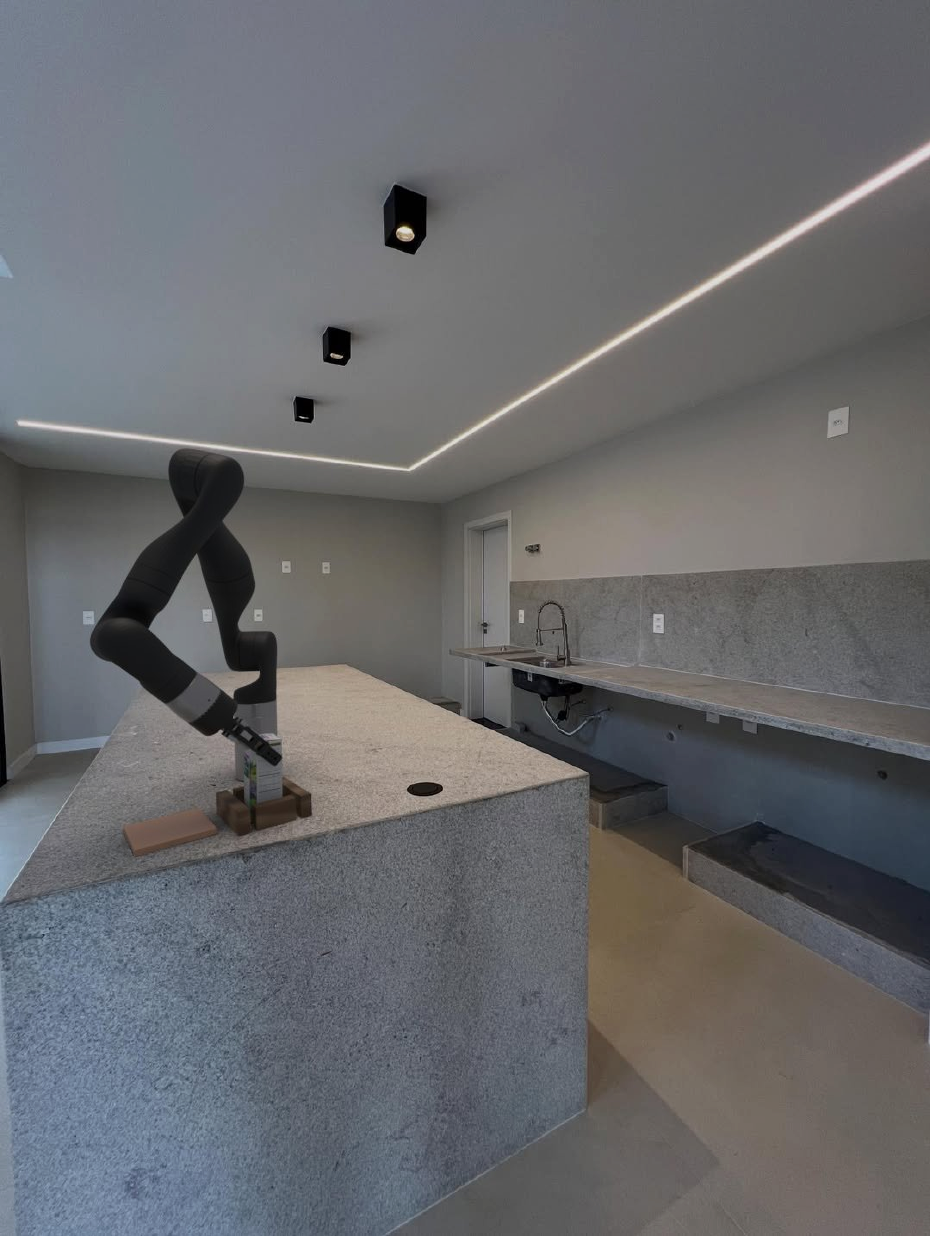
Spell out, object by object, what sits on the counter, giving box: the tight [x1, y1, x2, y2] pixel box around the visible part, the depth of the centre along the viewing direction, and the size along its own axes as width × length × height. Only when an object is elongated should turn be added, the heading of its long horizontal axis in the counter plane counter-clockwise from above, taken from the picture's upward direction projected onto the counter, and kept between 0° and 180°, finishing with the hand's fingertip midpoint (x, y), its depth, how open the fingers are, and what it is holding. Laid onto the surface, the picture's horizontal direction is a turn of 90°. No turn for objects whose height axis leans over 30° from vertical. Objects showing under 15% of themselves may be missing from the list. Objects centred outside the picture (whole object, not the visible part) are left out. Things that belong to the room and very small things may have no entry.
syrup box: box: [243, 734, 283, 823], centre depth 97 cm, size 6×6×14 cm
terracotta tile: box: [122, 807, 218, 857], centre depth 89 cm, size 12×12×1 cm
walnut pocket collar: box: [215, 776, 313, 837], centre depth 97 cm, size 13×13×4 cm
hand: (271, 757), depth 98 cm, fingers closed on syrup box, 6 cm apart
